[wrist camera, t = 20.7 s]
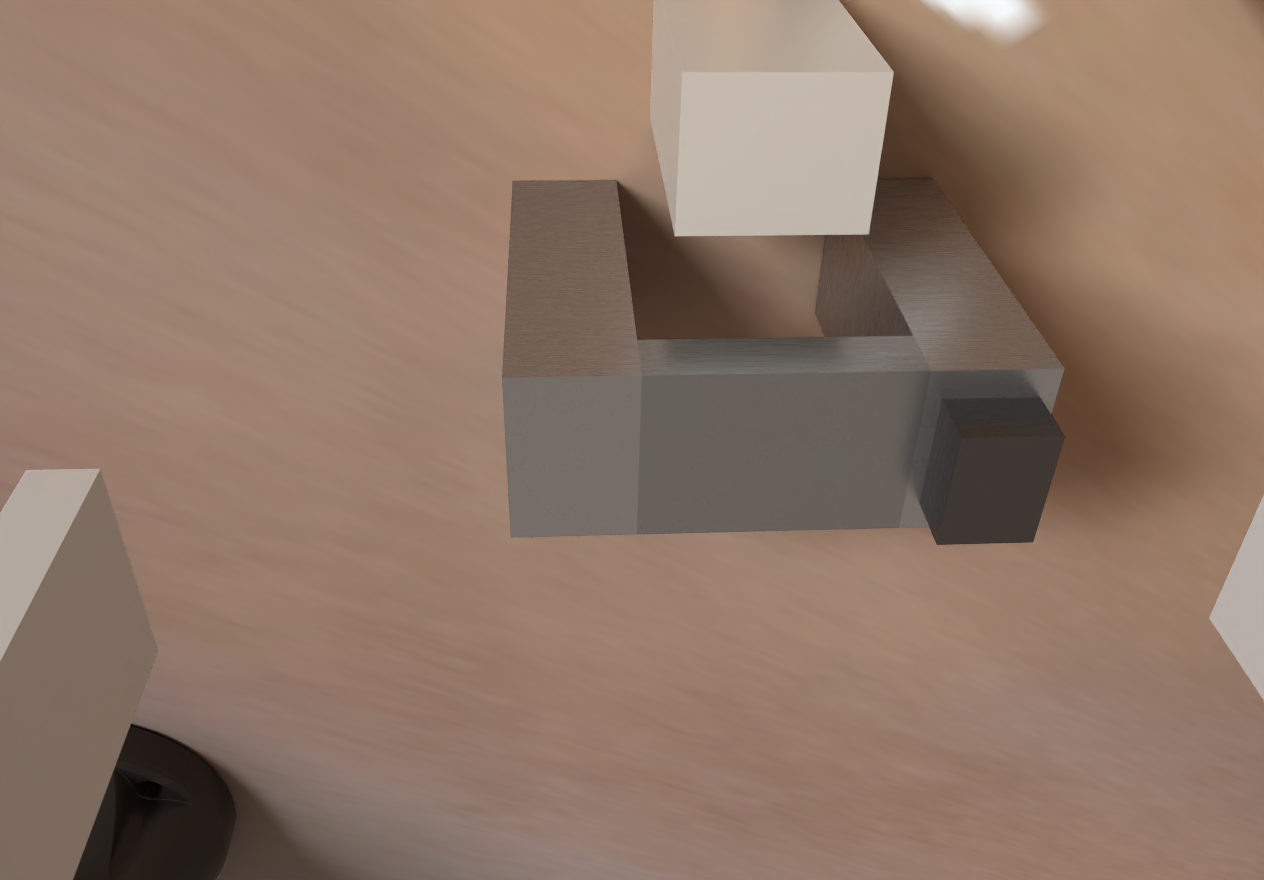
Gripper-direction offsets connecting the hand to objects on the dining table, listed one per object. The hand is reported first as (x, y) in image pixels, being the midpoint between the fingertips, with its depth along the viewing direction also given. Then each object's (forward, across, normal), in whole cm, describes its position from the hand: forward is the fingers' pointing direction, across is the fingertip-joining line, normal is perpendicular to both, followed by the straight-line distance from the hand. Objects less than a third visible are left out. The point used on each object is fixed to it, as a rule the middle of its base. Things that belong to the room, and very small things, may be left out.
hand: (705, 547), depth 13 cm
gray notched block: (+32, +5, -12) cm, 34 cm away
